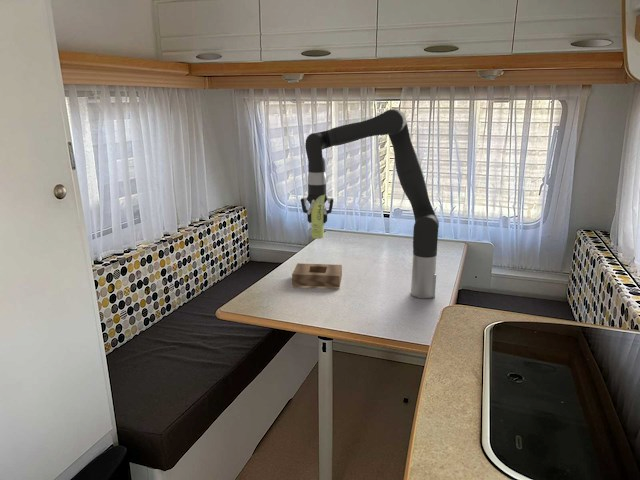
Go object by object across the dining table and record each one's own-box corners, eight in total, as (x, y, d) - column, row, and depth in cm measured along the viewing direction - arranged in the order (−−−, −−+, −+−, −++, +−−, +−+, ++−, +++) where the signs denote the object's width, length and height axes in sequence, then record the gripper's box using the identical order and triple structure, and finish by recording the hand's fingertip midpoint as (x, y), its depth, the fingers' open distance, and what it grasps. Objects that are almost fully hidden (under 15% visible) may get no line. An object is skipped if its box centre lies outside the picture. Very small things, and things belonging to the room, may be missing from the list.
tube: (312, 239, 199) (311, 193, 193) (309, 236, 204) (308, 191, 198) (325, 238, 201) (325, 192, 195) (321, 235, 205) (321, 190, 200)
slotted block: (341, 277, 213) (341, 264, 212) (339, 289, 200) (339, 275, 198) (297, 275, 216) (297, 263, 214) (292, 287, 202) (292, 274, 201)
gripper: (298, 184, 193) (299, 224, 198) (333, 184, 191) (333, 225, 196) (301, 181, 200) (301, 220, 205) (335, 181, 198) (335, 220, 203)
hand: (317, 222), depth 200 cm, fingers closed on tube, 5 cm apart
